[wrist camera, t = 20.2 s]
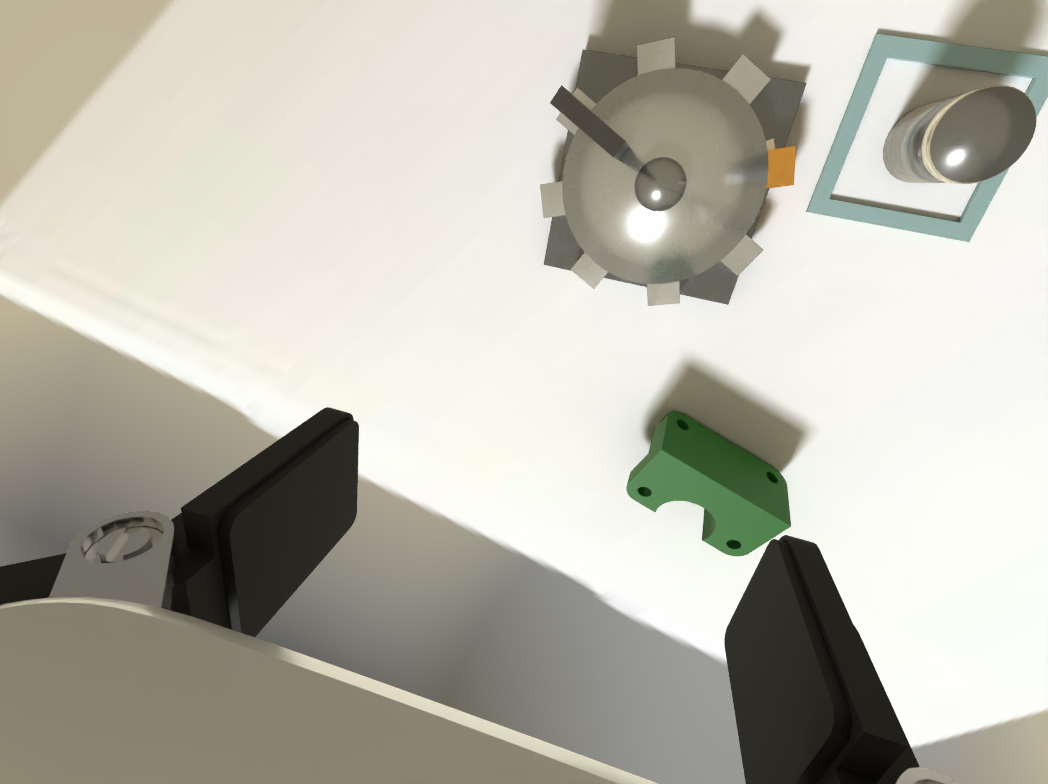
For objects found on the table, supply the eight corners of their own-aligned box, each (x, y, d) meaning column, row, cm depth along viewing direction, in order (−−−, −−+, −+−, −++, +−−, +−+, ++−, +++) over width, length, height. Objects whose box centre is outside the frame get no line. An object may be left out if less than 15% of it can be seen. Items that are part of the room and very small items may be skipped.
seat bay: (1063, 60, 28) (1067, 59, 27) (966, 241, 32) (969, 241, 32) (875, 35, 29) (877, 33, 29) (806, 211, 33) (807, 211, 33)
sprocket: (653, -18, 30) (653, -77, 23) (847, 157, 31) (902, 151, 24) (502, 206, 37) (468, 212, 30) (664, 342, 38) (667, 378, 31)
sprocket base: (802, 85, 31) (807, 82, 30) (726, 301, 37) (728, 304, 36) (584, 53, 33) (582, 49, 32) (546, 262, 39) (543, 264, 38)
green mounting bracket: (655, 434, 47) (605, 475, 41) (693, 394, 43) (643, 432, 37) (755, 531, 44) (716, 592, 37) (806, 497, 40) (773, 559, 33)
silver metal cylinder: (984, 108, 29) (1058, 92, 24) (944, 189, 31) (1004, 191, 26) (903, 96, 30) (957, 78, 25) (869, 176, 32) (912, 175, 26)
